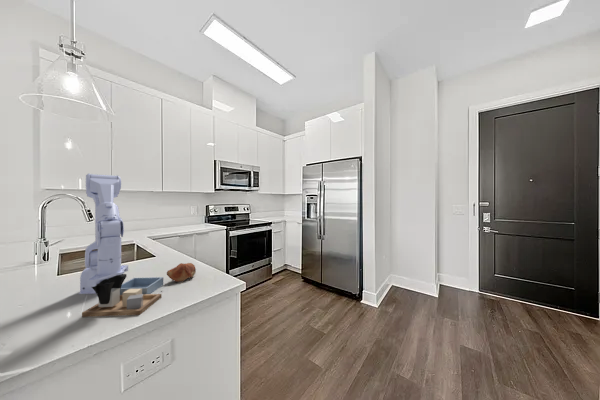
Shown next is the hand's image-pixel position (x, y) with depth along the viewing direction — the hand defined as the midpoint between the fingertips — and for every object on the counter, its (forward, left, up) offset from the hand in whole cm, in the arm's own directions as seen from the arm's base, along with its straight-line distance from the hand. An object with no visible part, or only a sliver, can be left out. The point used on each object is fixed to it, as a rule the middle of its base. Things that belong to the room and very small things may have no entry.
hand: (109, 300), depth 71 cm
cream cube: (+6, +1, -2) cm, 7 cm away
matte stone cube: (+9, -2, -2) cm, 10 cm away
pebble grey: (0, 0, -1) cm, 1 cm away
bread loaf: (+12, +25, -3) cm, 28 cm away
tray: (+5, 0, -3) cm, 5 cm away
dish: (+2, +13, -3) cm, 13 cm away
